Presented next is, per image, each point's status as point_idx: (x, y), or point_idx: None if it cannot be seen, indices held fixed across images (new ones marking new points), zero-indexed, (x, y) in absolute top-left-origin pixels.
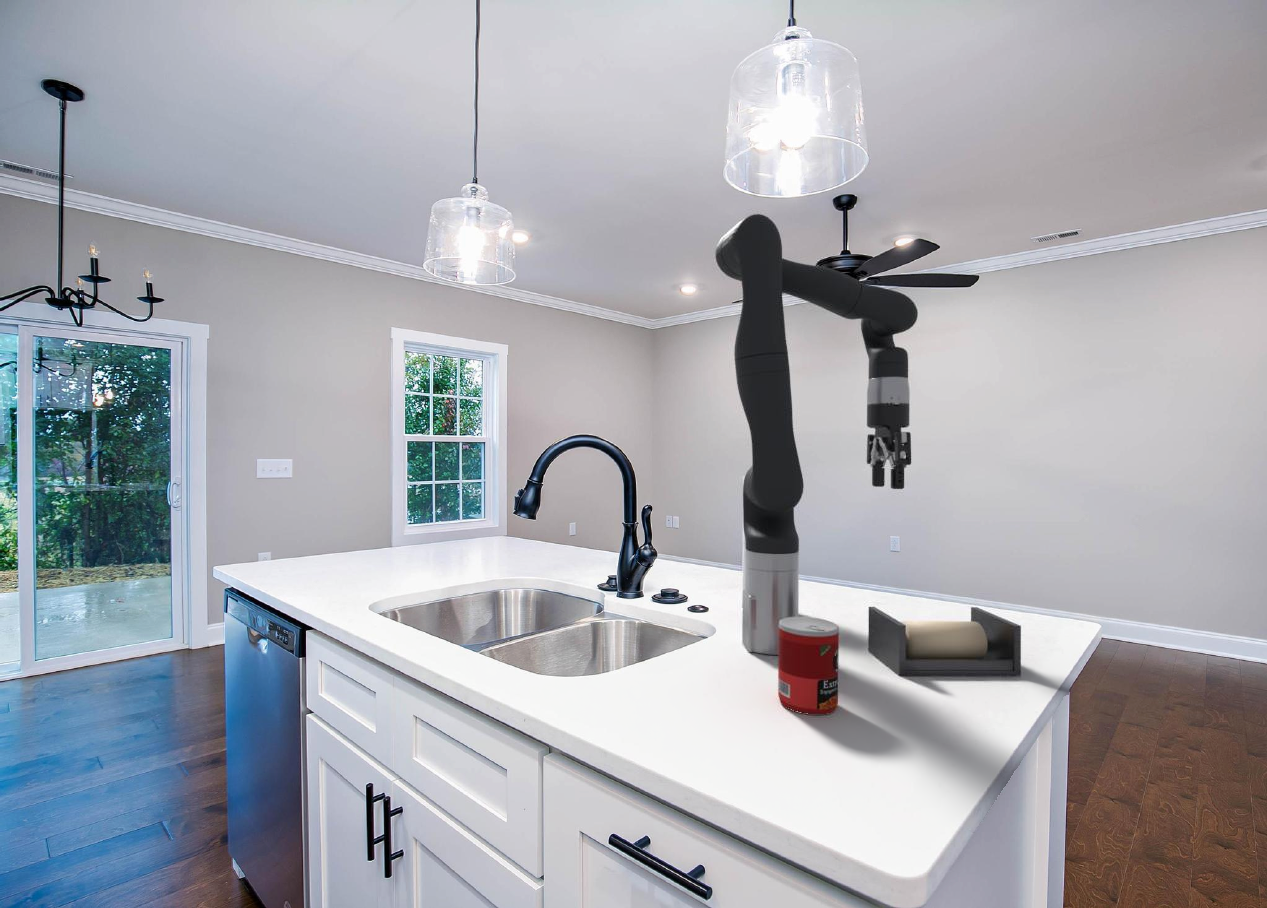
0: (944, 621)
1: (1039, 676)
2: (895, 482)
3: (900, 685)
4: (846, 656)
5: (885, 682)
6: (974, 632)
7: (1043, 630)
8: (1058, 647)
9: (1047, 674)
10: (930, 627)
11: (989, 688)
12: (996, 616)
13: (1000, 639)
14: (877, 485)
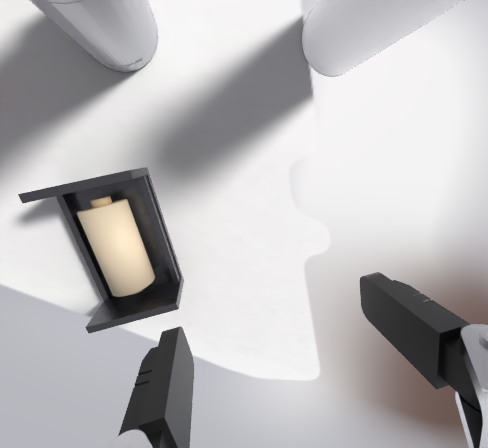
0: (116, 260)
1: None
2: (148, 361)
3: (27, 181)
4: (117, 136)
5: (30, 166)
6: (108, 284)
7: (282, 354)
8: (223, 351)
9: None
10: (91, 239)
11: (59, 264)
12: (131, 319)
13: (121, 305)
14: (364, 291)
